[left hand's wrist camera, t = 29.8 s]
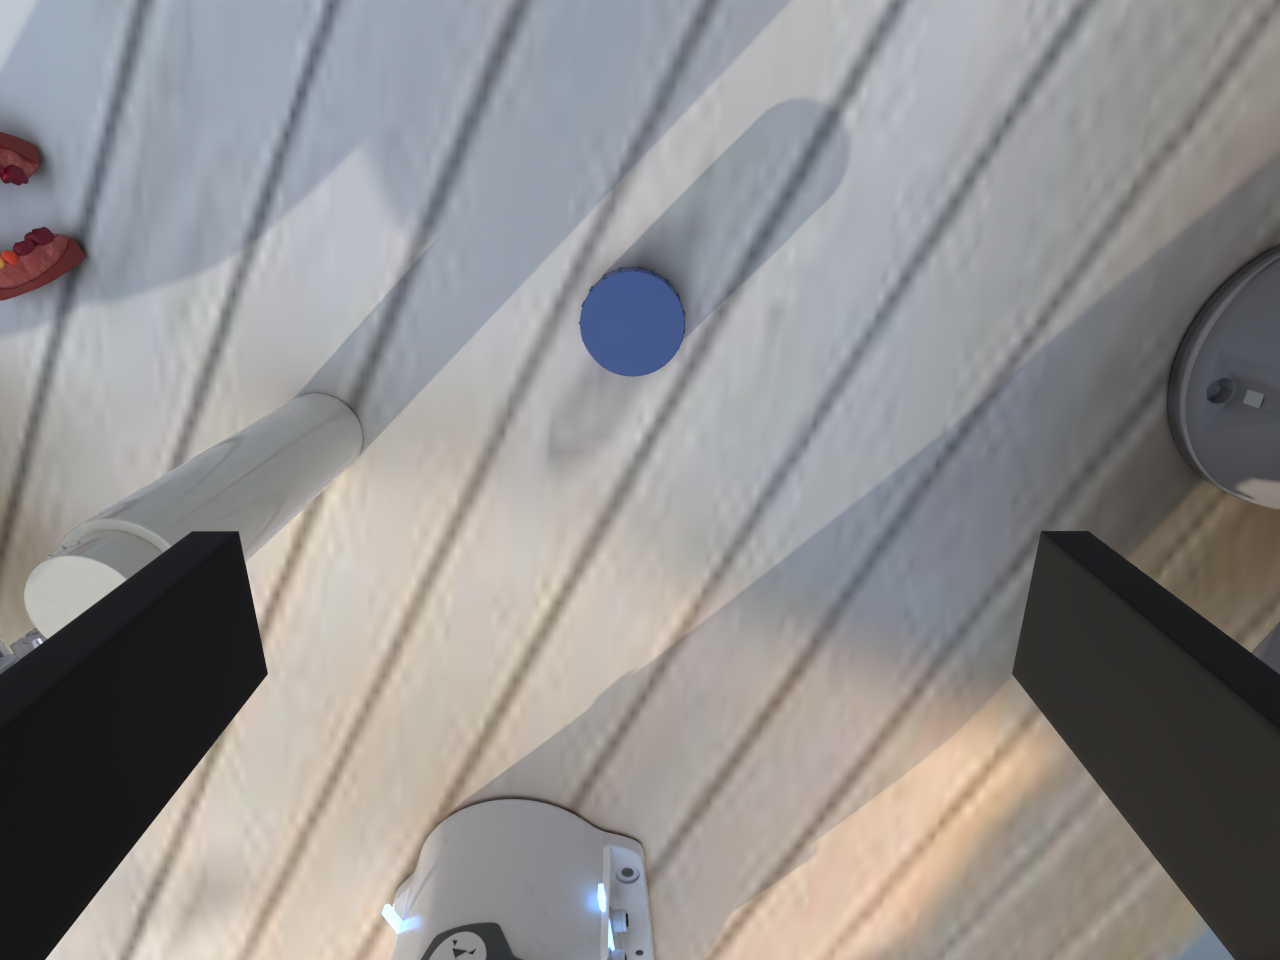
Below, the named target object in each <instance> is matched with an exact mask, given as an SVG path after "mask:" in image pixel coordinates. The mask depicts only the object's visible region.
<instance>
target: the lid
mask: <svg viewBox="0 0 1280 960" xmlns="http://www.w3.org/2000/svg"><path fill="white" fill-rule="evenodd" d="M589 291H590V293H589V294H588V296H587V298H586V300H585V301H584V302H583V304H582V306H581V307H583V308H582V312H581V318H580V322H579V324H580V329H581V335H582V341H583V342H584V344H585V347H586V349H587V350H588V352H589V354H590V355H591V356H592V358H593V359H594V360H595V361H596V362H597V363H598V364H600V365H601V366H602V367H604V368H605V369H607V370H609V371H611V372H613V373H616V374H619V375H624V376H642V375H646V374H649V373H652V372H654V371H656V370H658V369H660V368H661V367H663V366H664V365H666V364H667V363H668V362H669V361H670V360H671V359H672V358H673V356H674V355H675V354H676V352H677V350H678V349H679V347H680V344H681V342H682V339H683V335H684V333H685V330H684V328H685V320H684V316H685V312H684V310H683V309H682V306H681V303H680V300H679V299H680V297H679V294H678V293H677V294H676V292H675V290H674V289H673V287H672V286H671V285H670V283H669V280H665V279H664V278H663V277H661V276H660V275H658V274H657V273H655V271H654V270H653V271H650V270H647V269H644V268H638V266H636V267H628V268H622V269H621V267H619V269H618V270H615V271H613V272H611V273H609V274H607V275H605V274H604V275H603V277H602V278H601V279H600V280H599V281H598V282H597V283H596V284H595V285H594V287H593V286H592V287H591V288H590V290H589Z"/></svg>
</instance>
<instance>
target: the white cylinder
mask: <svg viewBox="0 0 1280 960" xmlns="http://www.w3.org/2000/svg"><path fill="white" fill-rule="evenodd" d="M362 443H363V434H362V429H361V425H360V423H359V420H358V419H357V417H356V415H355V414H354V413H353V411H352V410H351V409H350V408H349V407H348V406H347V405H346V404H344V403H343V402H341V401H340V400H338V399H336V398H334V397H332V396H329V395H325V394H319V393H311V394H305V395H301V396H299V397H297V398H295V399H293V400H292V401H290V402H288V403H287V404H285V405H283V406H281V407H280V408H278V409H276V410H275V411H273V412H271V413H270V414H268V415H266V416H264V417H263V418H261V419H259V420H258V421H256V422H254V423H252V424H251V425H249V426H247V427H246V428H244V429H242V430H241V431H239V432H237V433H235V434H234V435H232V436H230V437H229V438H227V439H225V440H223V441H222V442H220V443H218V444H217V445H215V446H213V447H211V448H210V449H208V450H206V451H205V452H203V453H201V454H200V455H198V456H196V457H194V458H193V459H191V460H189V461H188V462H186V463H184V464H182V465H181V466H179V467H177V468H176V469H174V470H172V471H171V472H169V473H167V474H165V475H164V476H162V477H160V478H159V479H157V480H155V481H153V482H152V483H150V484H148V485H147V486H145V487H143V488H141V489H140V490H138V491H136V492H135V493H133V494H131V495H130V496H128V497H126V498H124V499H123V500H121V501H119V502H118V503H116V504H114V505H112V506H111V507H109V508H107V509H106V510H104V511H102V512H101V513H99V514H97V515H95V516H94V517H92V518H90V519H89V520H87V521H85V522H83V523H82V524H80V525H78V526H77V527H75V528H74V529H73V530H71V531H70V532H69V533H68V534H67V535H66V537H65V538H64V539H63V541H62V543H61V544H60V546H59V548H58V549H57V550H55V551H54V552H53V553H51V554H50V555H48V557H47V559H46V560H45V561H43V562H42V563H40V564H39V565H38V566H36V567H35V568H34V569H33V571H32V572H31V573H30V575H29V577H28V579H27V581H26V584H25V589H24V601H25V606H26V609H27V612H28V614H29V617H30V619H31V620H32V622H33V624H34V625H35V626H36V628H37V629H38V630H39V631H40V632H41V633H42V635H43V636H44V637H46V638H47V639H48V638H50V637H51V636H52V635H54V634H55V633H56V632H58V631H59V630H60V629H62V628H63V627H64V626H66V625H67V624H68V623H70V622H71V621H72V620H74V619H75V618H76V617H78V616H79V615H80V614H82V613H83V612H84V611H86V610H87V609H88V608H90V607H91V606H92V605H94V604H95V603H96V602H98V601H99V600H101V599H102V598H103V597H105V596H106V595H107V594H109V593H110V592H111V591H113V590H114V589H115V588H117V587H118V586H119V585H121V584H122V583H123V582H125V581H126V580H127V579H129V578H130V577H131V576H133V575H134V574H135V573H137V572H138V571H139V570H141V569H142V568H143V567H145V566H146V565H147V564H149V563H150V562H151V561H153V560H154V559H155V558H157V557H158V556H159V555H161V554H162V553H163V552H165V551H166V550H167V549H169V548H170V547H171V546H173V545H174V544H175V543H177V542H178V541H179V540H181V539H182V538H184V537H185V536H186V535H188V534H189V533H190V532H192V531H239V535H240V540H241V545H242V550H243V554H244V559H245V562H246V561H247V560H249V559H250V558H251V557H252V556H253V555H254V554H255V553H256V552H257V551H258V550H259V549H260V548H261V547H263V546H264V545H265V544H266V543H267V542H268V541H269V540H270V539H271V538H272V537H273V536H274V535H275V534H277V533H278V532H279V531H280V530H281V529H282V528H283V527H284V526H285V525H286V524H287V523H288V522H290V521H291V520H292V519H293V518H294V517H295V516H296V515H297V514H298V513H299V512H300V511H301V510H302V509H304V508H305V507H306V506H307V505H308V504H309V503H310V502H311V501H312V500H313V499H314V498H315V497H316V496H318V495H319V494H320V493H321V492H322V491H323V490H324V489H325V488H326V487H327V486H328V485H329V484H330V483H332V482H333V481H334V480H335V479H336V478H337V477H338V476H339V475H340V474H341V473H342V472H343V471H345V470H346V469H347V468H348V467H349V466H350V465H351V464H352V463H353V462H354V461H355V460H356V458H357V457H358V456H359V453H360V451H361V448H362Z"/></svg>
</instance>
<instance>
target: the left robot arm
mask: <svg viewBox="0 0 1280 960" xmlns="http://www.w3.org/2000/svg"><path fill="white" fill-rule="evenodd" d="M1168 414H1169V422H1170V427H1171V431H1172V434H1173V437H1174V440H1175V443H1176V445H1177V447H1178V449H1179V451H1180V453H1181V454H1182V456H1183V458H1184V459H1185V461H1186V462H1187V463H1188V464H1189V466H1190V467H1191V468H1192V469H1193V470H1194V471H1195V472H1196V473H1197V474H1198V475H1199V476H1200V477H1202V478H1203V479H1204V480H1206V481H1207V482H1209V483H1210V484H1212V485H1214V486H1216V487H1218V488H1219V489H1221V490H1223V491H1225V492H1227V493H1229V494H1231V495H1233V496H1235V497H1237V498H1240V499H1242V500H1245V501H1247V502H1250V503H1254V504H1258V505H1262V506H1265V507H1269V508H1273V509H1279V510H1280V245H1279V246H1277V247H1275V248H1273V249H1271V250H1269V251H1268V252H1266V253H1265V254H1263V255H1261V256H1260V257H1258V258H1256V259H1255V260H1253V261H1252V262H1251V263H1249V264H1248V265H1247V266H1245V267H1244V268H1242V269H1241V270H1240V271H1239V272H1238V273H1236V274H1235V275H1234V276H1233V277H1232V278H1230V279H1229V280H1228V281H1227V282H1226V283H1225V284H1224V285H1223V286H1222V287H1221V288H1220V289H1219V290H1218V291H1217V292H1216V293H1215V295H1214V296H1213V297H1212V298H1211V299H1210V300H1209V301H1208V303H1207V304H1206V305H1205V307H1204V308H1203V309H1202V311H1201V312H1200V313H1199V315H1198V316H1197V318H1196V319H1195V321H1194V322H1193V324H1192V325H1191V327H1190V329H1189V331H1188V333H1187V334H1186V336H1185V338H1184V340H1183V342H1182V344H1181V347H1180V349H1179V352H1178V354H1177V357H1176V360H1175V363H1174V366H1173V369H1172V374H1171V378H1170V384H1169V392H1168ZM267 674H268V672H267V667H266V663H265V658H264V653H263V648H262V643H261V638H260V633H259V628H258V623H257V618H256V613H255V608H254V604H253V599H252V594H251V589H250V584H249V579H248V574H247V569H246V564H245V559H244V554H243V550H242V545H241V540H240V535H239V531H192V532H190V533H189V534H188V535H186V536H185V537H184V538H182V539H181V540H179V541H178V542H177V543H175V544H174V545H173V546H171V547H170V548H169V549H167V550H166V551H165V552H163V553H162V554H161V555H159V556H158V557H157V558H155V559H154V560H153V561H151V562H150V563H149V564H147V565H146V566H145V567H143V568H142V569H141V570H139V571H138V572H137V573H135V574H134V575H133V576H131V577H130V578H129V579H127V580H126V581H125V582H123V583H122V584H121V585H119V586H118V587H117V588H115V589H114V590H113V591H111V592H110V593H109V594H107V595H106V596H105V597H103V598H102V599H101V600H99V601H98V602H96V603H95V604H94V605H92V606H91V607H90V608H88V609H87V610H86V611H84V612H83V613H82V614H80V615H79V616H78V617H76V618H75V619H74V620H72V621H71V622H70V623H68V624H67V625H66V626H64V627H63V628H62V629H60V630H59V631H58V632H56V633H55V634H54V635H52V636H51V637H50V638H48V639H47V640H46V641H44V642H43V643H42V644H40V645H39V646H38V647H36V648H35V649H34V650H32V651H31V652H30V653H28V654H27V655H26V656H24V657H23V658H22V659H20V660H19V661H17V662H16V663H15V664H13V665H12V666H11V667H9V668H8V669H7V670H5V671H4V672H3V673H1V674H0V960H45V959H46V958H47V957H48V955H49V954H50V953H51V951H52V950H53V949H54V948H55V946H56V945H57V944H58V942H59V941H60V940H61V939H62V937H63V936H64V935H65V933H66V932H67V931H68V930H69V928H70V927H71V926H72V924H73V923H74V922H75V921H76V919H77V918H78V917H79V915H80V914H81V913H82V912H83V910H84V909H85V908H86V907H87V905H88V904H89V903H90V901H91V900H92V899H93V898H94V896H95V895H96V894H97V892H98V891H99V890H100V889H101V887H102V886H103V885H104V883H105V882H106V881H107V880H108V878H109V877H110V876H111V874H112V873H113V872H114V871H115V869H116V868H117V867H118V865H119V864H120V863H121V862H122V860H123V859H124V858H125V856H126V855H127V854H128V853H129V851H130V850H131V849H132V848H133V846H134V845H135V844H136V842H137V841H138V840H139V839H140V837H141V836H142V835H143V833H144V832H145V831H146V830H147V828H148V827H149V826H150V824H151V823H152V822H153V821H154V819H155V818H156V817H157V815H158V814H159V813H160V812H161V810H162V809H163V808H164V806H165V805H166V804H167V803H168V801H169V800H170V799H171V797H172V796H173V795H174V794H175V792H176V791H177V790H178V789H179V787H180V786H181V785H182V783H183V782H184V781H185V780H186V778H187V777H188V776H189V774H190V773H191V772H192V771H193V769H194V768H195V767H196V765H197V764H198V763H199V762H200V760H201V759H202V758H203V756H204V755H205V754H206V753H207V751H208V750H209V749H210V747H211V746H212V745H213V744H214V742H215V741H216V740H217V738H218V737H219V736H220V735H221V733H222V732H223V731H224V729H225V728H226V727H227V726H228V724H229V723H230V722H231V721H232V719H233V718H234V717H235V715H236V714H237V713H238V712H239V710H240V709H241V708H242V706H243V705H244V704H245V703H246V701H247V700H248V699H249V697H250V696H251V695H252V694H253V692H254V691H255V690H256V688H257V687H258V686H259V685H260V683H261V682H262V681H263V679H264V678H265V677H266V676H267ZM1012 674H1013V676H1014V677H1015V678H1016V679H1017V681H1018V682H1019V683H1020V685H1021V686H1022V687H1023V688H1024V690H1025V691H1026V692H1027V694H1028V695H1029V696H1030V697H1031V699H1032V700H1033V701H1034V703H1035V704H1036V705H1037V706H1038V708H1039V709H1040V710H1041V712H1042V713H1043V714H1044V715H1045V717H1046V718H1047V719H1048V721H1049V722H1050V723H1051V724H1052V726H1053V727H1054V728H1055V730H1056V731H1057V732H1058V733H1059V735H1060V736H1061V737H1062V738H1063V740H1064V741H1065V742H1066V744H1067V745H1068V746H1069V747H1070V749H1071V750H1072V751H1073V753H1074V754H1075V755H1076V756H1077V758H1078V759H1079V760H1080V762H1081V763H1082V764H1083V765H1084V767H1085V768H1086V769H1087V771H1088V772H1089V773H1090V774H1091V776H1092V777H1093V778H1094V780H1095V781H1096V782H1097V783H1098V785H1099V786H1100V787H1101V789H1102V790H1103V791H1104V792H1105V794H1106V795H1107V796H1108V797H1109V799H1110V800H1111V801H1112V803H1113V804H1114V805H1115V806H1116V808H1117V809H1118V810H1119V812H1120V813H1121V814H1122V815H1123V817H1124V818H1125V819H1126V821H1127V822H1128V823H1129V824H1130V826H1131V827H1132V828H1133V830H1134V831H1135V832H1136V833H1137V835H1138V836H1139V837H1140V839H1141V840H1142V841H1143V842H1144V844H1145V845H1146V846H1147V848H1148V849H1149V850H1150V851H1151V853H1152V854H1153V855H1154V856H1155V858H1156V859H1157V860H1158V862H1159V863H1160V864H1161V865H1162V867H1163V868H1164V869H1165V871H1166V872H1167V873H1168V874H1169V876H1170V877H1171V878H1172V880H1173V881H1174V882H1175V883H1176V885H1177V886H1178V887H1179V889H1180V890H1181V891H1182V892H1183V894H1184V895H1185V896H1186V898H1187V899H1188V900H1189V901H1190V903H1191V904H1192V905H1193V907H1194V908H1195V909H1196V910H1197V912H1198V913H1199V914H1200V915H1201V917H1202V918H1203V919H1204V921H1205V922H1206V923H1207V924H1208V926H1209V927H1210V928H1211V930H1212V931H1213V932H1214V933H1215V935H1216V936H1217V937H1218V939H1219V940H1220V941H1221V942H1222V944H1223V945H1224V946H1225V948H1226V949H1227V950H1228V951H1229V953H1230V954H1231V955H1232V957H1233V958H1234V959H1235V960H1280V622H1279V623H1278V624H1277V625H1276V626H1275V627H1274V629H1273V630H1272V631H1271V632H1270V633H1269V634H1268V635H1267V636H1266V637H1265V638H1264V640H1263V641H1262V642H1261V643H1260V644H1259V645H1258V646H1257V647H1256V648H1255V649H1254V651H1253V652H1252V653H1250V652H1249V651H1248V650H1246V649H1245V648H1244V647H1242V646H1241V645H1240V644H1238V643H1237V642H1236V641H1234V640H1233V639H1232V638H1230V637H1229V636H1228V635H1226V634H1225V633H1224V632H1222V631H1221V630H1220V629H1218V628H1217V627H1216V626H1214V625H1213V624H1212V623H1210V622H1209V621H1208V620H1206V619H1205V618H1204V617H1202V616H1201V615H1200V614H1198V613H1197V612H1196V611H1194V610H1193V609H1192V608H1190V607H1189V606H1188V605H1186V604H1185V603H1184V602H1182V601H1181V600H1179V599H1178V598H1177V597H1175V596H1174V595H1173V594H1171V593H1170V592H1169V591H1167V590H1166V589H1165V588H1163V587H1162V586H1161V585H1159V584H1158V583H1157V582H1155V581H1154V580H1153V579H1151V578H1150V577H1149V576H1147V575H1146V574H1145V573H1143V572H1142V571H1141V570H1139V569H1138V568H1137V567H1135V566H1134V565H1133V564H1131V563H1130V562H1129V561H1127V560H1126V559H1125V558H1123V557H1122V556H1121V555H1119V554H1118V553H1117V552H1115V551H1114V550H1113V549H1111V548H1110V547H1109V546H1107V545H1106V544H1105V543H1103V542H1102V541H1101V540H1099V539H1098V538H1096V537H1095V536H1094V535H1092V534H1091V533H1090V532H1088V531H1041V535H1040V540H1039V545H1038V550H1037V554H1036V559H1035V564H1034V569H1033V574H1032V579H1031V584H1030V589H1029V594H1028V599H1027V604H1026V608H1025V613H1024V618H1023V623H1022V628H1021V633H1020V638H1019V643H1018V648H1017V653H1016V658H1015V662H1014V667H1013V672H1012Z"/></svg>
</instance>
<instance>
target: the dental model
mask: <svg viewBox="0 0 1280 960" xmlns="http://www.w3.org/2000/svg"><path fill="white" fill-rule="evenodd" d="M39 165H40V161H39V156H38V150H37V147H36V146H35V145H33V144H31V143H29V142H27V141H25V140H22V139H20V138H17V137H15V136H12V135H9V134H6V133H2V132H0V177H1V180H2V181H3V182H4V183H14V184H16V185H21V184H22V183H24V184H27V183H28V182H29V180H28V178H30V177H31V176H32V174H33V173H34V172H35V171H36V169H37V168H38V166H39ZM24 240H25V241H22V242H19V243H15V245H14V247H13V251H2V253H1V257H2V258H1V257H0V301H1V300H6V299H9V298H13V297H16V296H19V295H21V294H24V293H26V292H29V291H32V290H35V289H37V288H39V287H41V286H43V285H45V284H47V283H49V282H51V281H53V280H55V279H57V278H58V277H60V276H61V275H63V274H65V273H66V272H68V271H69V270H71V269H72V268H73V267H75V266H76V265H77V264H79V263H80V262H81V261H82V260H83V259H84V258H85V257H86V255H85V253H84V252H83V251H82V249H81V248H80V247H79V245H78V244H77V243H76V241H75V240H74V239H73V238H72V239H70V238H69V237H68V236H65V235H61V234H53V233H52V232H51V231H50V230H49V229H48V228H46V227H42V228H39V229H33V230H32V232H29V233H27V234H26V235H25V237H24ZM16 254H17V255H16Z"/></svg>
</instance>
